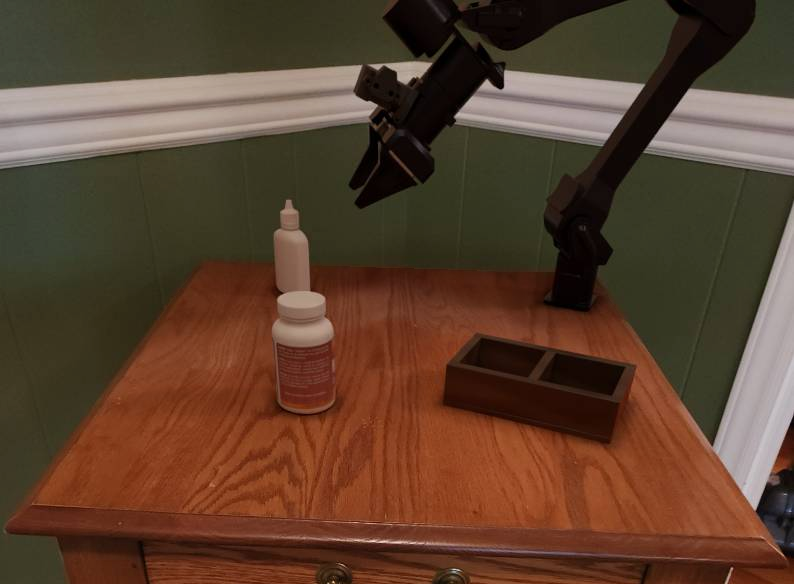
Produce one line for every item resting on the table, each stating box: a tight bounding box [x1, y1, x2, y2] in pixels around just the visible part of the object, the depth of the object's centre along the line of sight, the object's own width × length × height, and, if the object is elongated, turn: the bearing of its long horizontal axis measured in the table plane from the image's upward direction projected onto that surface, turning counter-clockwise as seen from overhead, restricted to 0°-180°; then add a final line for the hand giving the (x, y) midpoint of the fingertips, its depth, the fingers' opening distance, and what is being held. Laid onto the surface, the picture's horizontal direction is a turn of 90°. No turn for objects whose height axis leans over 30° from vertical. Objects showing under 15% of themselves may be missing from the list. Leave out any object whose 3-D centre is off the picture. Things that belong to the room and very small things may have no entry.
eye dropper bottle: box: [273, 199, 311, 294], centre depth 99 cm, size 4×6×12 cm
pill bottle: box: [271, 290, 336, 415], centre depth 74 cm, size 6×6×11 cm
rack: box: [442, 332, 637, 444], centre depth 77 cm, size 9×18×5 cm, turn 66°
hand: (353, 196), depth 91 cm, fingers open, 9 cm apart
